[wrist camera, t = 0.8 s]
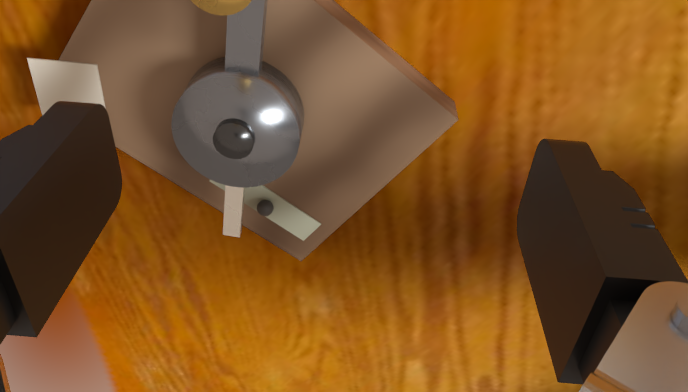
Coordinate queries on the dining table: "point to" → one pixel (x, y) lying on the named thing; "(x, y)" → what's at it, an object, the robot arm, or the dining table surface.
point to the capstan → (239, 112)
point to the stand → (293, 61)
